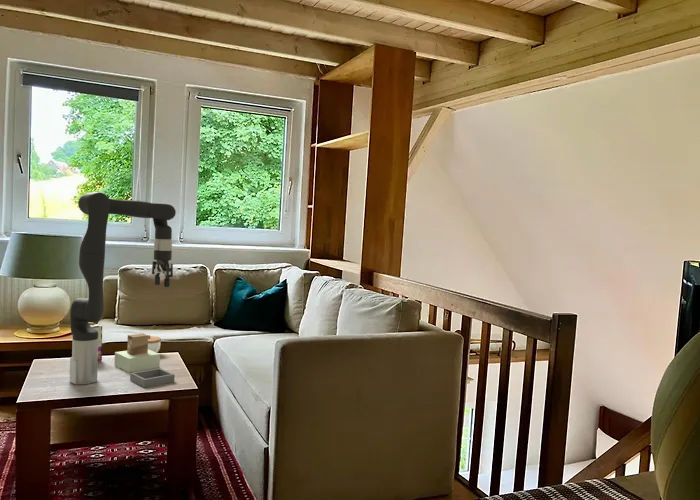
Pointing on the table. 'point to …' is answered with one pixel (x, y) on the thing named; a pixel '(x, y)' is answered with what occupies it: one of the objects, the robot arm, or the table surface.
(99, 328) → the candy bar box
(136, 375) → the charcoal bin
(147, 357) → the block
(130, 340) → the walnut parts box
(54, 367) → the table surface
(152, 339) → the lidded jar
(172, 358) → the table surface
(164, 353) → the table surface
